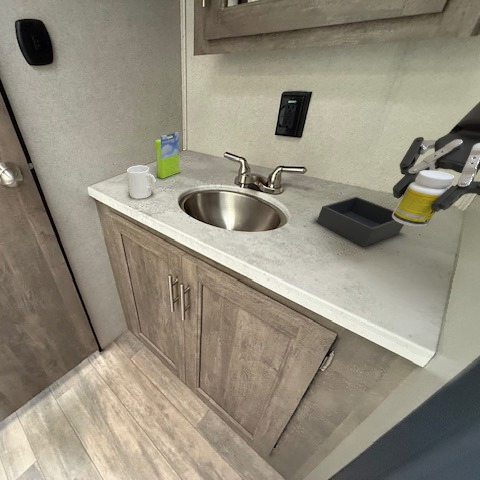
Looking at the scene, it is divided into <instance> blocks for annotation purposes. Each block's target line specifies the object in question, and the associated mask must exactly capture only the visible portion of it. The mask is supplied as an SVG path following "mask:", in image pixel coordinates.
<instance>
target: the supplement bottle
mask: <svg viewBox="0 0 480 480" xmlns="http://www.w3.org/2000/svg"><path fill="white" fill-rule="evenodd" d="M454 180H455V175H453V174H452V173H449V172H445V171H441V170H437V171H434V170H424V171H420V172H419V174H418V176H417V177H416V179H415V182H412V183H411V184H410V185H409V186H408V187H407V189H406V191H405V193H404V195H403V196H402V197H401V198H400V200H399V201H398V203H397V205H396V207H395V208H394V210H393V211H394V212H393V214H392V217H393V219H394V220H395V221H397V222H399V223H401V224H404V226H409V227H416V228H421V227H425V226H427V225H428V224H429V222H430V221H431V220H432V218H433V216H434V215H435V213H437V212H436V211H433V210H432V209H431V206H432V204H433V203H434V202H435V201H436V200H437V199H438V198H439V197H440V196H441V195H442V194H443V193H444V192H446V191H447V190H448V189H449V188H450V187H451V186H452V183H453V181H454Z"/></svg>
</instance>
